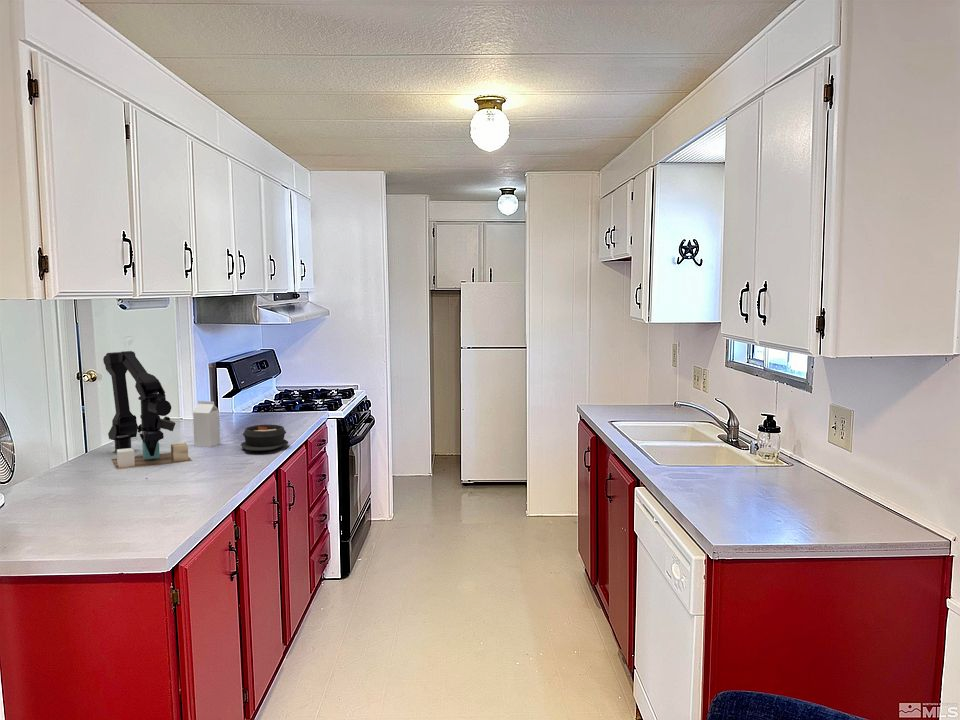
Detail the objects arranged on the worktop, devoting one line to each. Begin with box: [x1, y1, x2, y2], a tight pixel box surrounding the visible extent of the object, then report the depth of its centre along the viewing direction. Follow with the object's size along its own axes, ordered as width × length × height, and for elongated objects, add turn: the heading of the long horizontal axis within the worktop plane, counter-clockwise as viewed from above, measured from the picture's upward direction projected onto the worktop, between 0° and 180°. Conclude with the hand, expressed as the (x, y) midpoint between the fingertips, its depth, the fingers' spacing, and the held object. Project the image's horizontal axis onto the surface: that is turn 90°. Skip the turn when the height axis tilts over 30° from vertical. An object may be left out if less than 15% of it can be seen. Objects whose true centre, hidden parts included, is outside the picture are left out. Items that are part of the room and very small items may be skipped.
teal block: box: [141, 441, 161, 459], centre depth 264 cm, size 5×5×6 cm
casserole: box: [240, 424, 289, 452], centre depth 290 cm, size 25×19×8 cm
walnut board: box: [110, 452, 193, 470], centre depth 263 cm, size 18×25×1 cm
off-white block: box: [116, 447, 135, 468], centre depth 255 cm, size 5×5×6 cm
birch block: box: [170, 442, 189, 461], centre depth 264 cm, size 5×5×6 cm
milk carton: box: [192, 400, 221, 448], centre depth 288 cm, size 7×7×19 cm
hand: (151, 454), depth 264 cm, fingers closed on teal block, 5 cm apart
